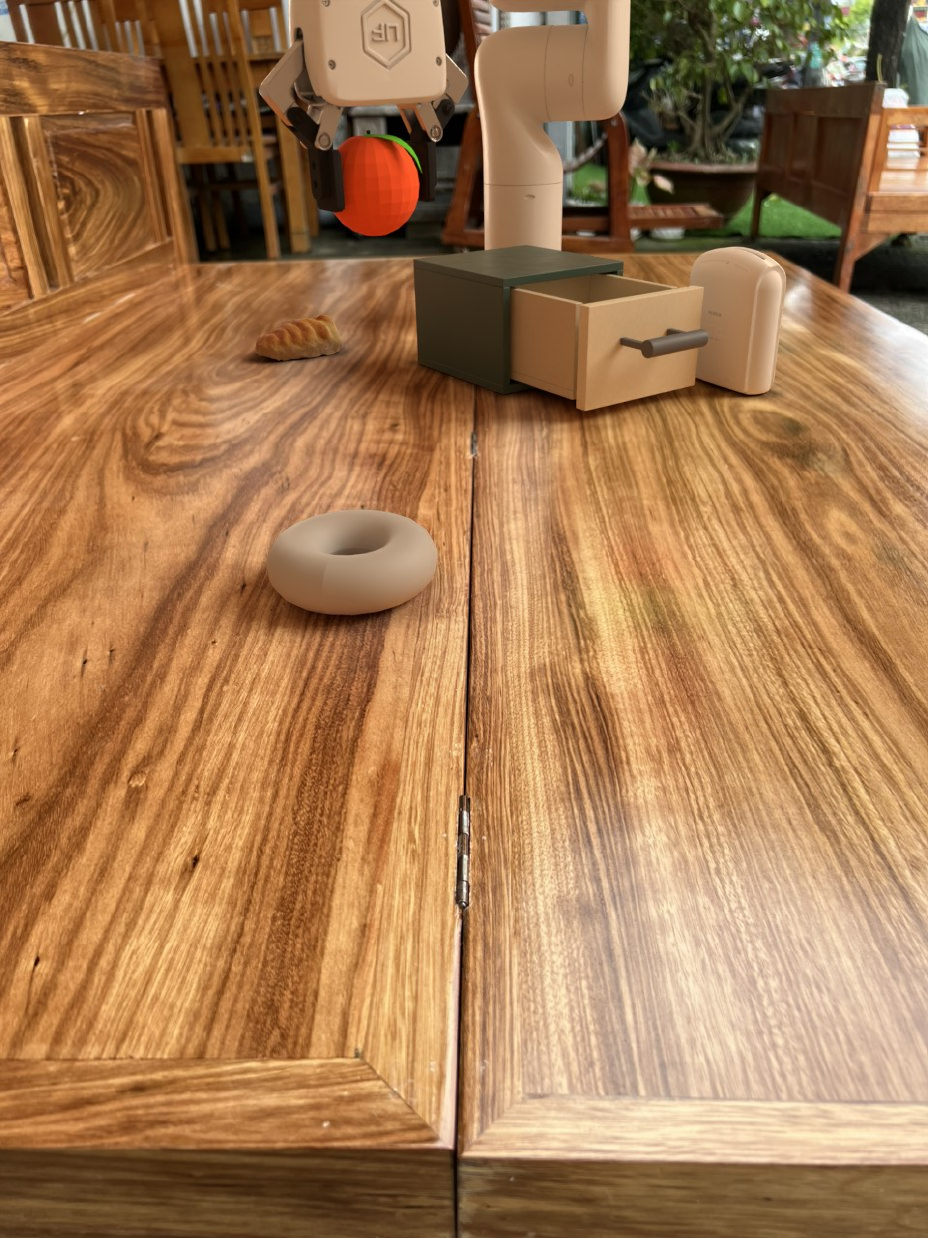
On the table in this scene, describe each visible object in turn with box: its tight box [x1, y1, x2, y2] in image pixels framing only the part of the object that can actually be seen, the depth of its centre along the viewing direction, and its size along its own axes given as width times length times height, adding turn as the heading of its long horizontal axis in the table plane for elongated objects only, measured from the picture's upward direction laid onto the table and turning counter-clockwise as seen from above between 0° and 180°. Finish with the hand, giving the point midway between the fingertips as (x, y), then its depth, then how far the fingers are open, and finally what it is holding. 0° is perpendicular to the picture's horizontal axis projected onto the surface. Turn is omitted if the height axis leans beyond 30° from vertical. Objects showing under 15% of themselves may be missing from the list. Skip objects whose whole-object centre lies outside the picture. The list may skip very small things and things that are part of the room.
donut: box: [265, 508, 439, 616], centre depth 56 cm, size 10×4×10 cm
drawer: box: [510, 273, 708, 412], centre depth 88 cm, size 19×13×9 cm
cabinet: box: [412, 245, 625, 395], centre depth 98 cm, size 16×15×11 cm
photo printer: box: [688, 246, 787, 395], centre depth 90 cm, size 10×4×12 cm, turn 26°
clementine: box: [333, 129, 422, 237], centre depth 70 cm, size 8×7×7 cm
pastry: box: [254, 314, 343, 362], centre depth 107 cm, size 9×7×4 cm
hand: (377, 203), depth 71 cm, fingers closed on clementine, 7 cm apart
